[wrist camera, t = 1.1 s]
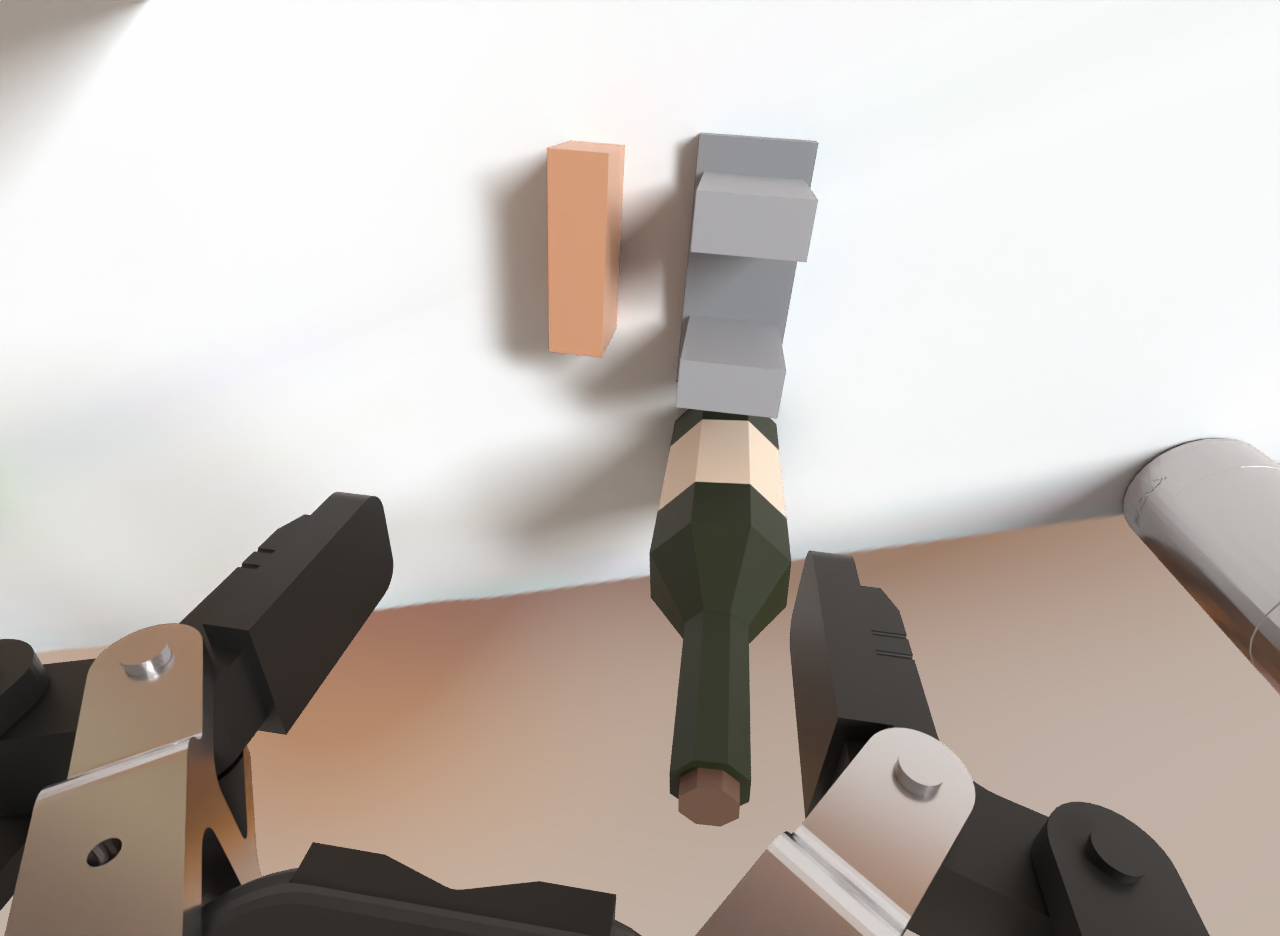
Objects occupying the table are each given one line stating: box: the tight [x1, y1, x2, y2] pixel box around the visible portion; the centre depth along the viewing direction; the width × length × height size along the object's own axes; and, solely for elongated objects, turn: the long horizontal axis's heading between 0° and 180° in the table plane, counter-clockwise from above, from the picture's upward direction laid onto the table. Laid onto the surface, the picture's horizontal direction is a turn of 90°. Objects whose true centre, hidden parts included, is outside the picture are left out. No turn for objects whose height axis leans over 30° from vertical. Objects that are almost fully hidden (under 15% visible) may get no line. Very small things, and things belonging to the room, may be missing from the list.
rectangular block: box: [547, 141, 625, 357], centre depth 41 cm, size 4×12×6 cm, turn 176°
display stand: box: [676, 133, 818, 418], centre depth 39 cm, size 7×16×10 cm, turn 176°
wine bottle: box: [650, 409, 791, 826], centre depth 37 cm, size 8×8×30 cm
